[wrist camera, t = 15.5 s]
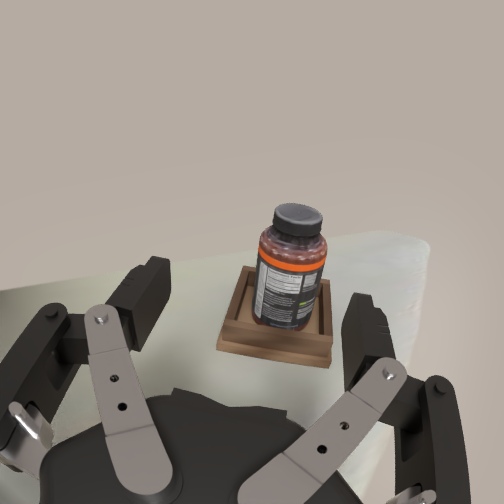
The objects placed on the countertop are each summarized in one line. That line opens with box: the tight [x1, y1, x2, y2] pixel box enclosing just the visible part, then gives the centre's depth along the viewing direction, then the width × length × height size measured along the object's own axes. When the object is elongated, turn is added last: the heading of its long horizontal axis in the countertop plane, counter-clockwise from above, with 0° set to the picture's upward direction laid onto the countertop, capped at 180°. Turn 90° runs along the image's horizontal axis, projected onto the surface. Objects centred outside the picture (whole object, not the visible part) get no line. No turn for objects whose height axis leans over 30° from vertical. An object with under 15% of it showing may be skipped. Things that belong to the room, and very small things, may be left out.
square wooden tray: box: [217, 266, 333, 368], centre depth 31 cm, size 10×10×3 cm
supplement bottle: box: [252, 203, 327, 331], centre depth 29 cm, size 6×6×11 cm
